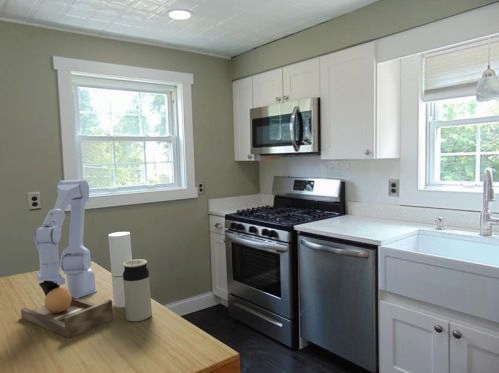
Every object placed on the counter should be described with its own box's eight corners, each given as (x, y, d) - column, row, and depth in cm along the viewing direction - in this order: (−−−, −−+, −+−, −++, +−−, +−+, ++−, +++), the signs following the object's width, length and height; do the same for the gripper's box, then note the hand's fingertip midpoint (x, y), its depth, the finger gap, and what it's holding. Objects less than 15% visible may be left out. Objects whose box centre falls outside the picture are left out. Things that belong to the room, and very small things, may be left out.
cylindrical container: (139, 300, 136) (134, 232, 134) (125, 308, 130) (119, 236, 128) (124, 298, 139) (118, 231, 137) (109, 305, 133) (103, 235, 131)
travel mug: (138, 324, 117) (133, 267, 115) (120, 319, 121) (116, 264, 120) (157, 314, 124) (153, 260, 122) (140, 310, 128) (136, 257, 126)
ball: (62, 299, 132) (63, 280, 129) (75, 311, 128) (77, 291, 125) (39, 308, 126) (40, 288, 123) (52, 321, 122) (53, 301, 119)
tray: (65, 302, 138) (63, 286, 138) (113, 318, 122) (111, 300, 122) (21, 317, 126) (19, 300, 126) (68, 338, 110) (66, 318, 109)
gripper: (26, 262, 127) (29, 302, 128) (48, 268, 119) (51, 310, 120) (47, 257, 133) (50, 295, 134) (70, 263, 125) (72, 303, 125)
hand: (52, 302), depth 127 cm, fingers closed, pressing on ball
